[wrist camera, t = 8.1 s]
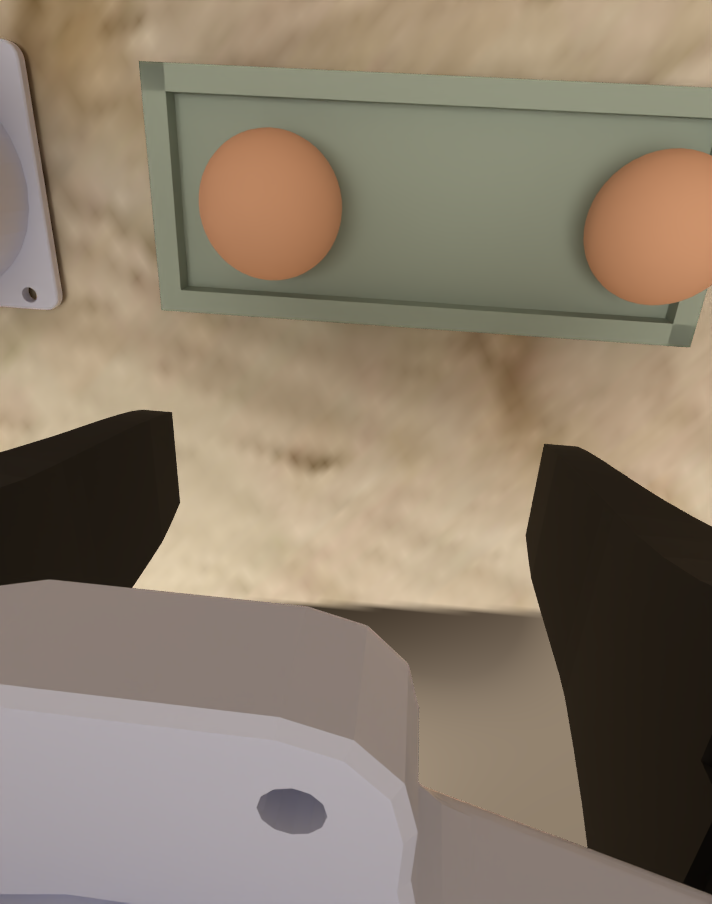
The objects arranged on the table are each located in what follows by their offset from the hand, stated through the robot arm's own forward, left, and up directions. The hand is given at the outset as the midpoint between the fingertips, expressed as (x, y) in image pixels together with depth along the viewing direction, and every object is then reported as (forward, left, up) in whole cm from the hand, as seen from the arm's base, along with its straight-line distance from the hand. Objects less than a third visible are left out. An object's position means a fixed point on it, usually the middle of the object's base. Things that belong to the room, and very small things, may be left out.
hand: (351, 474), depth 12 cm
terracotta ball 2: (+8, +4, -8) cm, 12 cm away
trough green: (+1, +4, -10) cm, 11 cm away
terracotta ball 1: (-3, +4, -8) cm, 9 cm away
